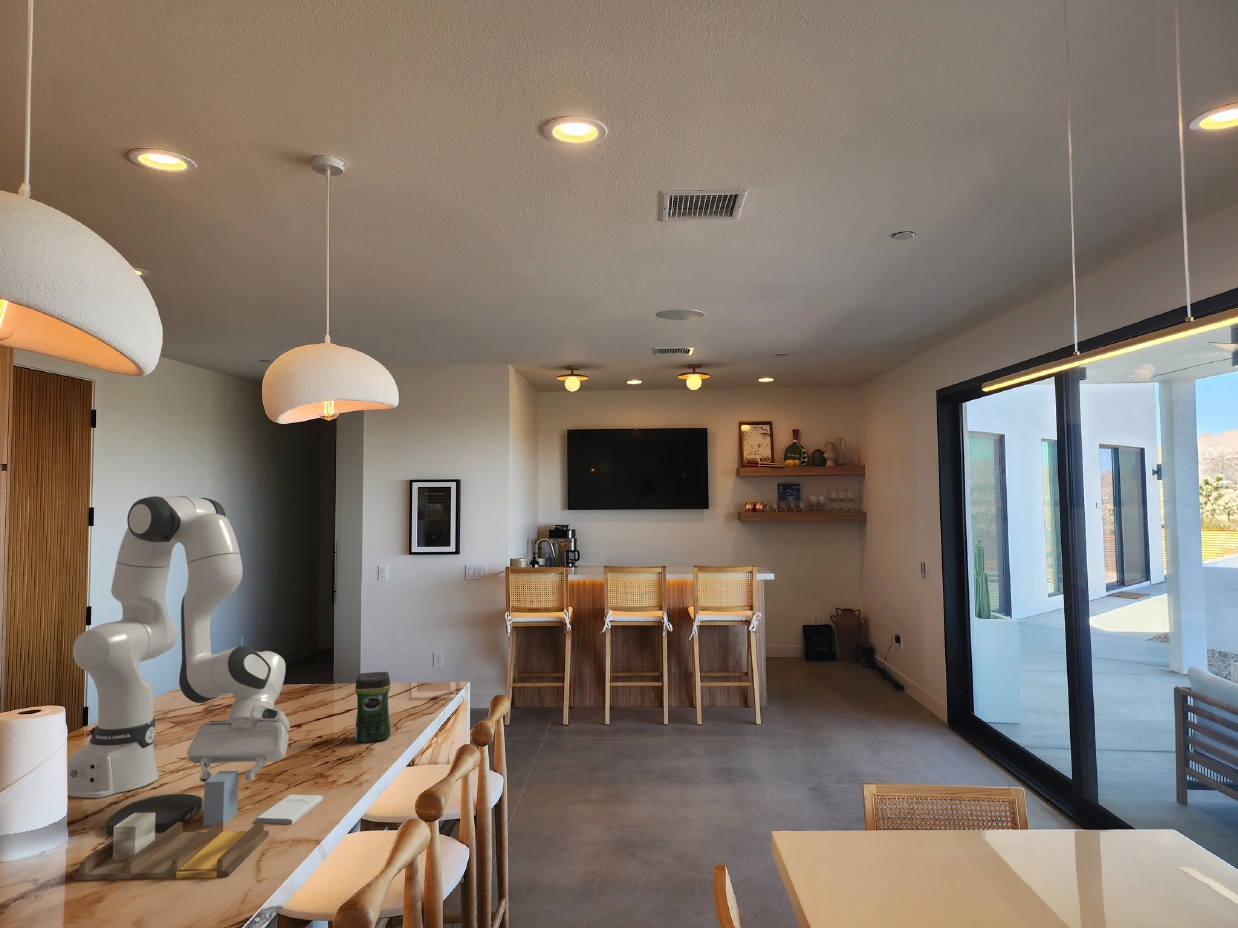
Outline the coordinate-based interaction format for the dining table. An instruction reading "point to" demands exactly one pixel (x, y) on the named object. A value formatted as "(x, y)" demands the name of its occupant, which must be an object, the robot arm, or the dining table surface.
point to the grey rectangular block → (220, 797)
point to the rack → (169, 851)
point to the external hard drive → (290, 809)
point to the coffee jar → (372, 707)
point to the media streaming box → (160, 810)
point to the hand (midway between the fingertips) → (226, 779)
